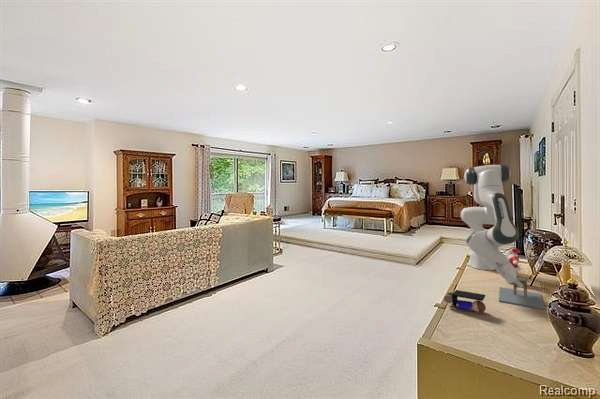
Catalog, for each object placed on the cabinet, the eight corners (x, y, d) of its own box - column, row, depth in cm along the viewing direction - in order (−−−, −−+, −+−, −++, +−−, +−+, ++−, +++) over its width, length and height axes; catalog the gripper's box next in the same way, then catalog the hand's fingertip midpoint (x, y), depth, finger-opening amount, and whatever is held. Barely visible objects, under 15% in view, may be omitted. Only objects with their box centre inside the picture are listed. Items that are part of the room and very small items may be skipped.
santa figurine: (506, 275, 165) (506, 243, 164) (519, 276, 161) (519, 244, 160) (507, 288, 144) (507, 252, 143) (521, 290, 141) (522, 253, 140)
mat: (499, 288, 145) (499, 287, 145) (540, 294, 135) (540, 293, 135) (498, 301, 129) (498, 300, 129) (544, 309, 119) (545, 308, 119)
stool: (513, 291, 136) (513, 274, 135) (526, 293, 133) (527, 275, 132) (513, 294, 132) (513, 277, 131) (527, 297, 128) (527, 279, 128)
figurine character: (444, 310, 125) (484, 316, 114) (442, 293, 125) (482, 297, 115) (448, 305, 130) (487, 310, 120) (446, 288, 130) (485, 292, 120)
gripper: (502, 262, 127) (529, 287, 122) (502, 252, 143) (526, 274, 138) (490, 270, 130) (516, 295, 125) (491, 260, 146) (515, 282, 141)
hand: (522, 284), depth 132 cm, fingers closed on stool, 5 cm apart
